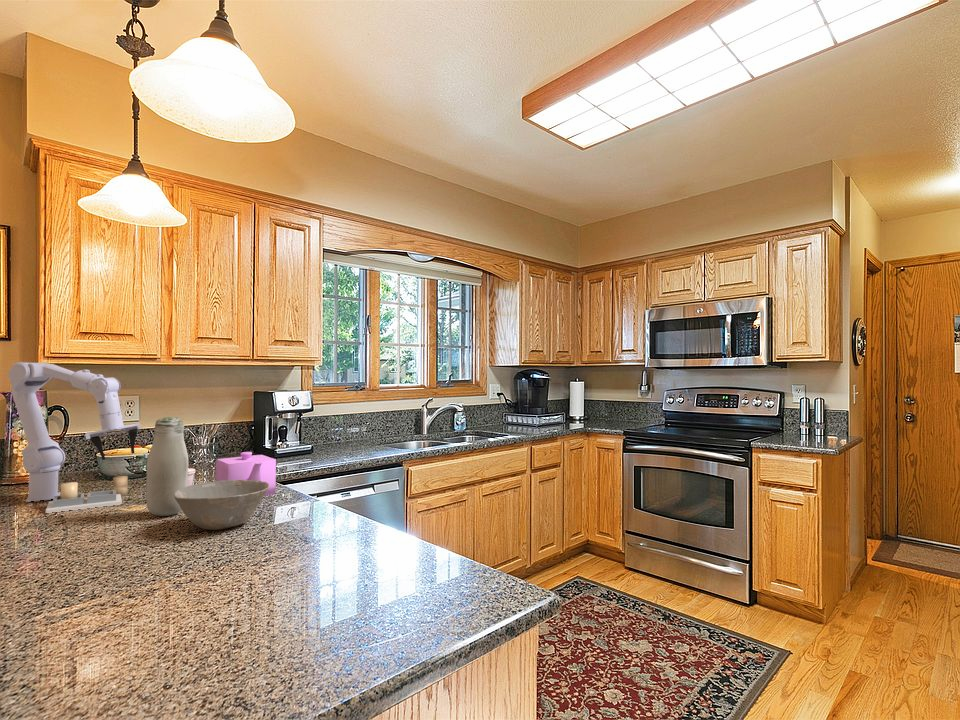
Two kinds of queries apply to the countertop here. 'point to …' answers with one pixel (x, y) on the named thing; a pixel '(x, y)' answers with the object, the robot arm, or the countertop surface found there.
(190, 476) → the smoothie
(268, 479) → the teapot
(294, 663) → the countertop surface
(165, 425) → the glass bottle
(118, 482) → the jaw peg
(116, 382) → the robot arm
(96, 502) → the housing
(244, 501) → the ceramic bowl
